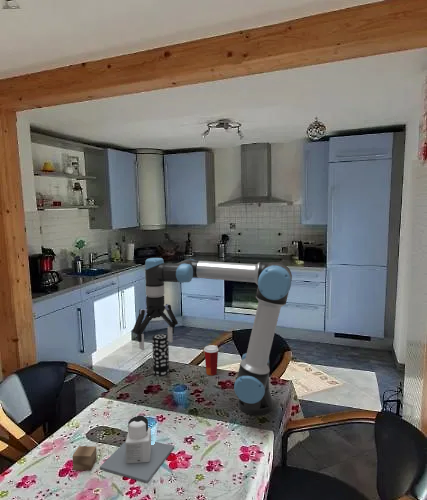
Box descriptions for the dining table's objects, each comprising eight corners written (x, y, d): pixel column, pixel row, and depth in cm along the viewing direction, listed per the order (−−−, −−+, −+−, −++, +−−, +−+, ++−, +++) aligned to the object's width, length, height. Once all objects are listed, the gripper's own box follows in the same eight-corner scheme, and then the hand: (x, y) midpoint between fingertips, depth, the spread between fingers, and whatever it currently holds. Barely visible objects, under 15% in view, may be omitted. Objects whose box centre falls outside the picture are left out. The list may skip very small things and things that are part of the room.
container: (129, 449, 126) (128, 414, 125) (151, 447, 127) (150, 412, 126) (126, 464, 119) (124, 426, 118) (149, 462, 120) (148, 425, 118)
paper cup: (219, 370, 193) (219, 345, 191) (218, 376, 185) (217, 350, 184) (204, 369, 193) (204, 344, 192) (203, 376, 186) (202, 349, 185)
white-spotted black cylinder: (171, 371, 192) (171, 334, 191) (164, 377, 185) (163, 339, 183) (157, 369, 195) (157, 333, 193) (150, 375, 187) (149, 338, 185)
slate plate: (174, 448, 128) (174, 446, 128) (147, 483, 111) (147, 480, 111) (131, 437, 135) (131, 435, 134) (99, 469, 118) (99, 466, 118)
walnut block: (96, 460, 122) (96, 446, 122) (91, 470, 117) (90, 456, 117) (79, 459, 123) (78, 446, 122) (73, 470, 118) (72, 455, 117)
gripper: (175, 289, 159) (176, 336, 161) (123, 298, 144) (124, 349, 146) (185, 292, 153) (186, 340, 155) (131, 301, 138) (133, 355, 140)
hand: (156, 345), depth 150 cm, fingers open, 13 cm apart
